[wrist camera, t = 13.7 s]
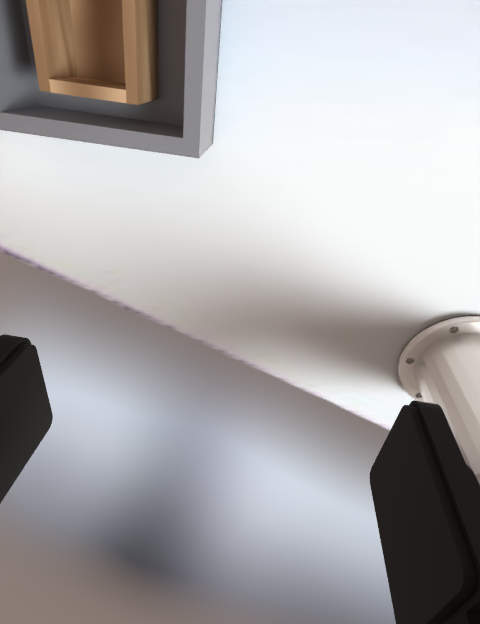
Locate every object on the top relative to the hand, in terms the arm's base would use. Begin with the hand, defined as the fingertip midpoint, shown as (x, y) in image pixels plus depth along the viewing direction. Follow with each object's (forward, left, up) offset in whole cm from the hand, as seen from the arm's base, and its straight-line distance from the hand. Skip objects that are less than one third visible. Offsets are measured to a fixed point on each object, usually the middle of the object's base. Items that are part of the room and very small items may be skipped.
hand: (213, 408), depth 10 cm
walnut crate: (+13, -9, -27) cm, 31 cm away
